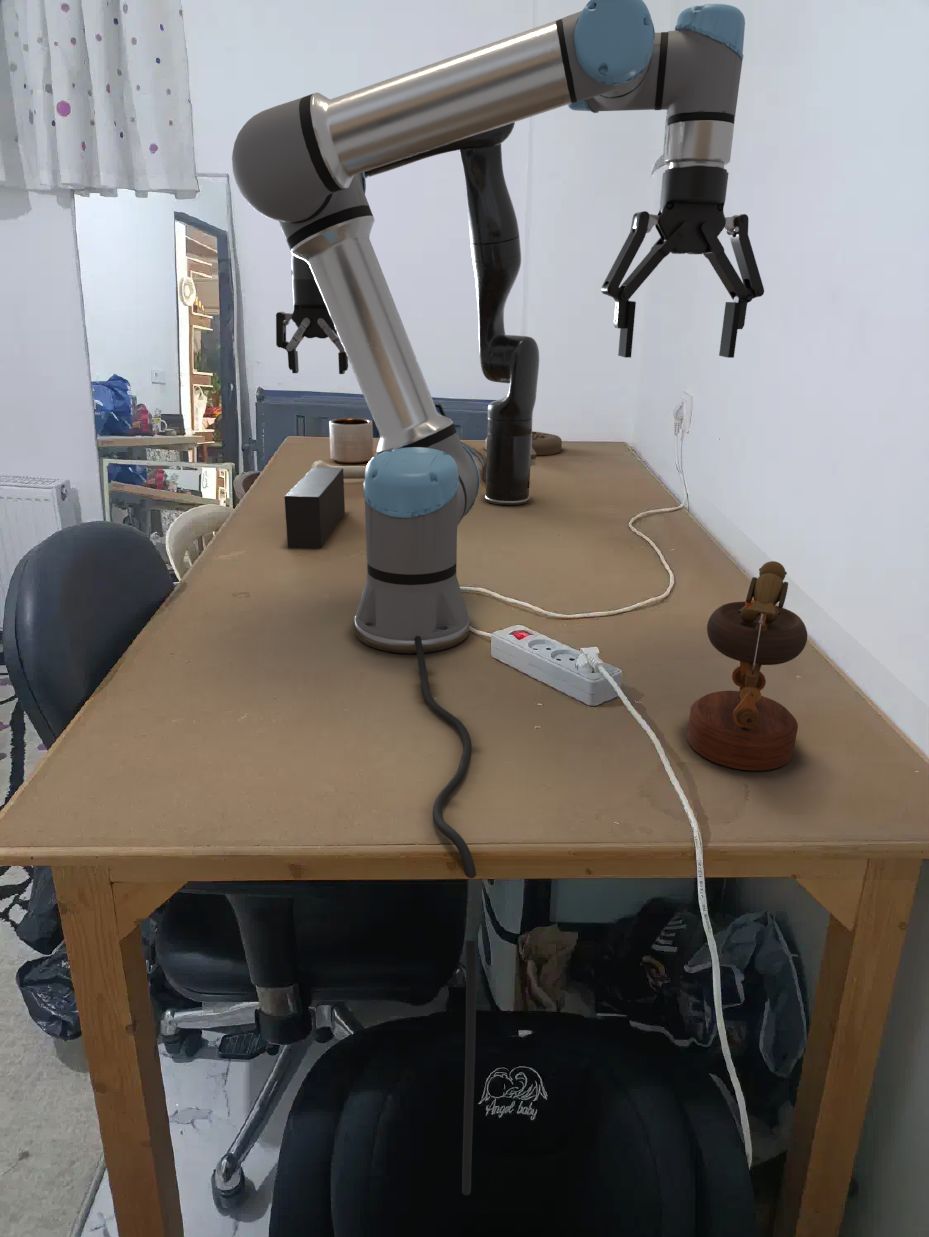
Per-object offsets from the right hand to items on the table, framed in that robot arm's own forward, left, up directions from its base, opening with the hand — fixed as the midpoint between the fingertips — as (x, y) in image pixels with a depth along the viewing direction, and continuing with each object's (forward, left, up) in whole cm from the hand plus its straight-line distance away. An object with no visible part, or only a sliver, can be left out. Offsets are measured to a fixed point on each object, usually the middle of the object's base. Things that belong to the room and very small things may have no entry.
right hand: (318, 373), depth 153 cm
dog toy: (-27, +12, -27) cm, 40 cm away
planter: (-52, +16, -27) cm, 61 cm away
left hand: (+61, +36, +8) cm, 72 cm away
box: (+7, -2, -27) cm, 28 cm away
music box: (+96, +27, -27) cm, 103 cm away
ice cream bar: (-49, +62, -27) cm, 83 cm away
